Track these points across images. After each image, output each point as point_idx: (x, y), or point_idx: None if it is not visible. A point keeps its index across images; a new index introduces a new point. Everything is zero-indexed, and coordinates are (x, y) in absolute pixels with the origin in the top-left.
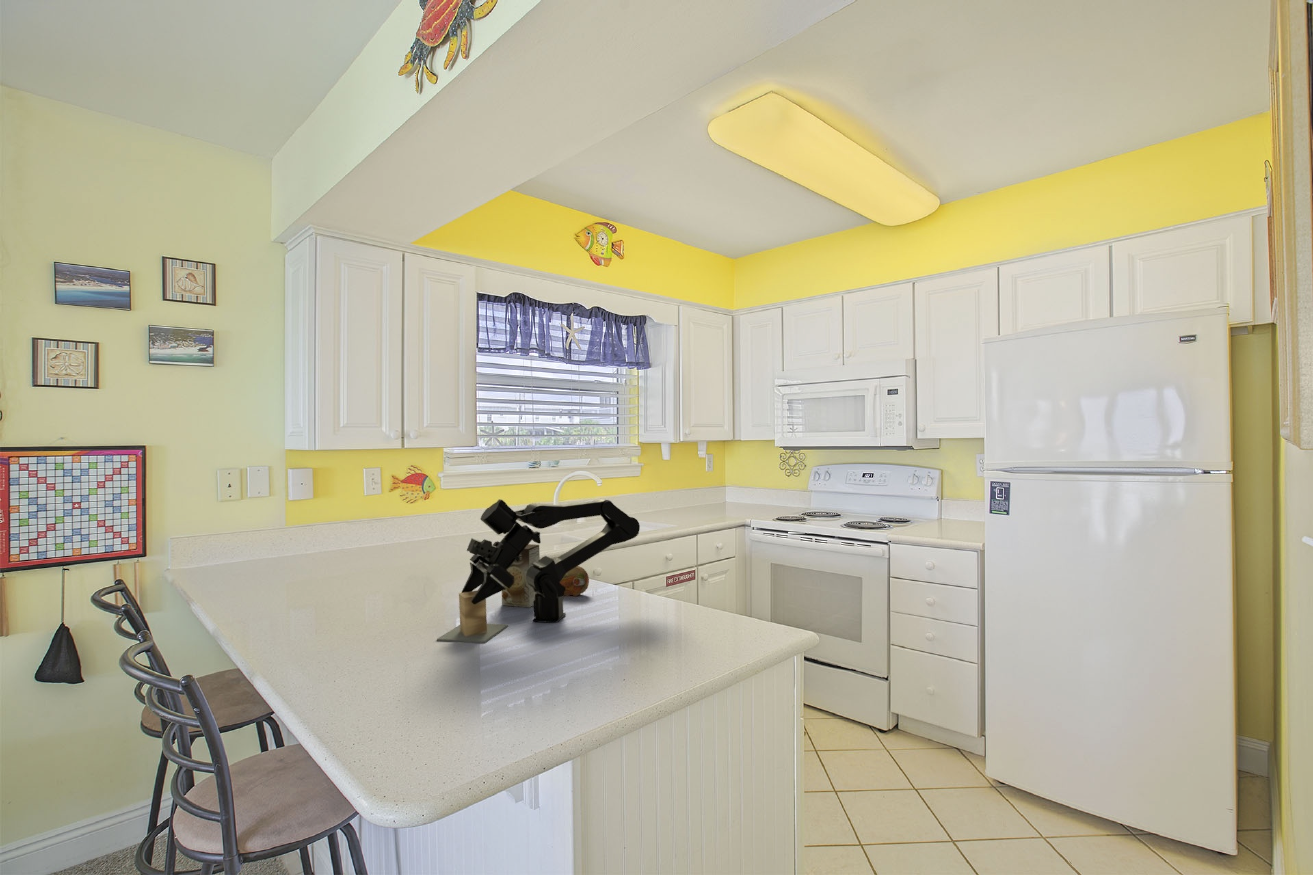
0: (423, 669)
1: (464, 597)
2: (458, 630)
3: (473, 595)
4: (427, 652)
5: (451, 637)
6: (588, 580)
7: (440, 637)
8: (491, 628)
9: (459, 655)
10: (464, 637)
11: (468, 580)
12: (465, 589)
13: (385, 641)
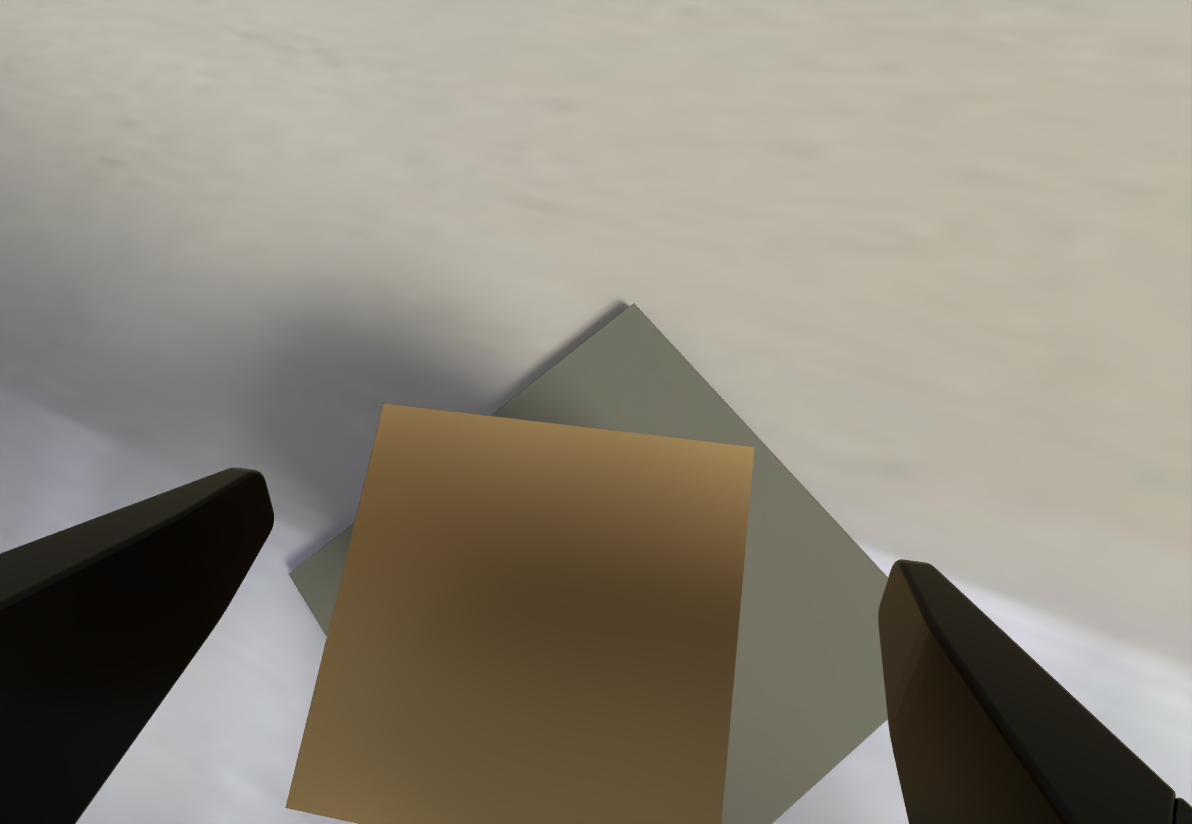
0: (192, 109)
1: (408, 418)
2: None
3: (403, 588)
4: (441, 194)
5: (585, 402)
6: None
7: (650, 335)
8: None
9: (221, 332)
10: None
11: (1040, 773)
12: (918, 641)
13: (885, 38)
